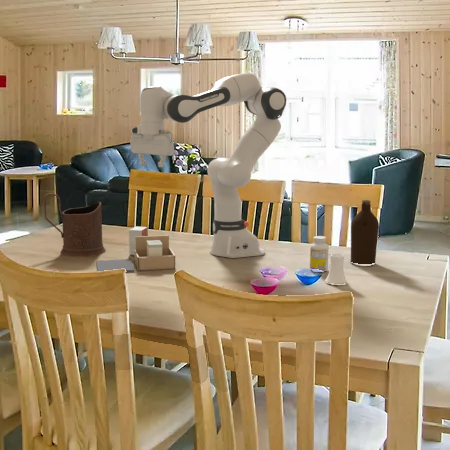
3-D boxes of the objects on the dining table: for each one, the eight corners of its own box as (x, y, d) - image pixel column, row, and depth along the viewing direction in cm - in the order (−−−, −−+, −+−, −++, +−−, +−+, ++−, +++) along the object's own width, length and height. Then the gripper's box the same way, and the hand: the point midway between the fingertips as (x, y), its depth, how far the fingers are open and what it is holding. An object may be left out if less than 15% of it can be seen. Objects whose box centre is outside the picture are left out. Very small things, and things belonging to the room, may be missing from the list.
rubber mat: (130, 261, 239) (130, 259, 238) (134, 272, 223) (134, 269, 223) (96, 262, 236) (96, 260, 235) (98, 273, 220) (98, 271, 220)
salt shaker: (347, 280, 215) (349, 253, 213) (346, 286, 208) (347, 258, 206) (326, 279, 217) (327, 251, 215) (324, 285, 210) (325, 257, 208)
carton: (170, 259, 241) (170, 235, 239) (175, 268, 228) (175, 242, 226) (134, 261, 237) (134, 236, 235) (138, 270, 225) (137, 244, 223)
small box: (142, 256, 247) (141, 230, 245) (129, 255, 248) (128, 229, 246) (148, 251, 254) (148, 226, 252) (135, 250, 255) (135, 226, 253)
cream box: (160, 262, 237) (159, 240, 235) (162, 267, 230) (162, 244, 228) (146, 263, 236) (146, 240, 234) (149, 268, 229) (148, 244, 227)
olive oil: (381, 266, 235) (385, 202, 230) (357, 268, 232) (360, 203, 227) (367, 259, 245) (371, 198, 240) (344, 261, 242) (347, 199, 237)
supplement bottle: (315, 267, 232) (316, 234, 230) (330, 270, 228) (332, 237, 226) (306, 270, 227) (307, 237, 225) (321, 274, 223) (323, 240, 221)
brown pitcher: (109, 254, 248) (108, 194, 243) (48, 259, 239) (45, 197, 234) (101, 245, 265) (99, 188, 260) (44, 249, 256) (41, 190, 251)
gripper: (177, 130, 227) (177, 167, 229) (139, 128, 239) (139, 163, 242) (166, 131, 222) (166, 168, 225) (127, 128, 234) (128, 164, 237)
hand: (152, 166), depth 233 cm, fingers open, 8 cm apart
